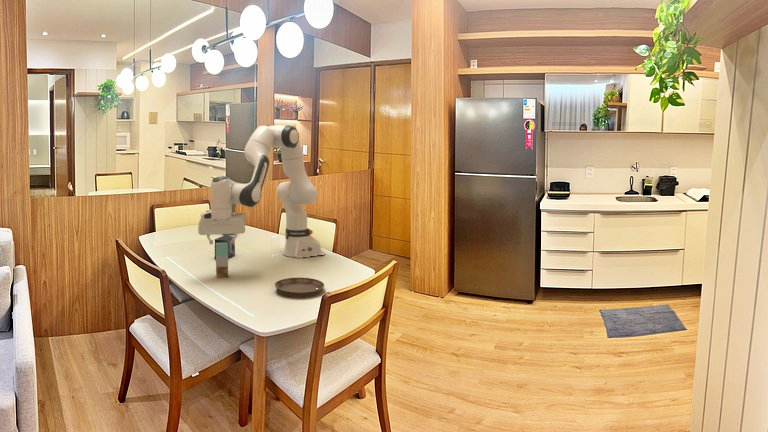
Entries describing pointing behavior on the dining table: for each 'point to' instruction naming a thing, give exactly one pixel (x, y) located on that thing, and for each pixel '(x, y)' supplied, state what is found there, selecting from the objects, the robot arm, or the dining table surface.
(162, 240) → the dining table surface
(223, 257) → the grey mid block
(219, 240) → the small box
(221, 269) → the walnut base block
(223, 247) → the teal cube
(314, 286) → the plant saucer
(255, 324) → the dining table surface
